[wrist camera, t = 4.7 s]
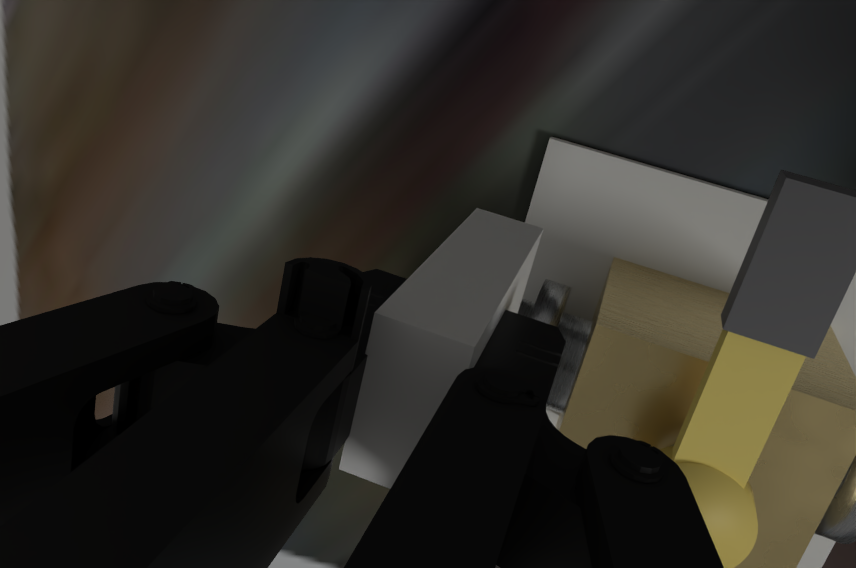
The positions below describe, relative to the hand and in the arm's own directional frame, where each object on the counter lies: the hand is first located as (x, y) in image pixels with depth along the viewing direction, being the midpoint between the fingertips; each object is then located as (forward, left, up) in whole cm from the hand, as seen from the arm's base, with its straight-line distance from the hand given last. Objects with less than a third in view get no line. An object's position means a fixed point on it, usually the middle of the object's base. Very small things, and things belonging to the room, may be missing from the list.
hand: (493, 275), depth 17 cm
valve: (+9, +8, -21) cm, 24 cm away
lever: (+5, +8, -10) cm, 13 cm away
